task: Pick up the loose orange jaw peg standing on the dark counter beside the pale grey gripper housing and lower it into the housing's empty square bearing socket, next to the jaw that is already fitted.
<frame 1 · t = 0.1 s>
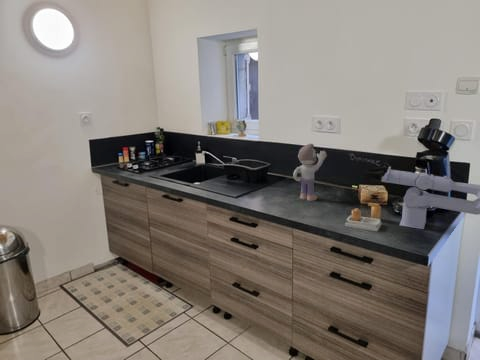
hand: (367, 172, 162), 22 cm above the worktop, tool horizontal, fingers open, 7 cm apart
housing: (363, 225, 159), on the worktop
jaw peg: (375, 219, 165), on the worktop
toy: (311, 199, 197), on the worktop
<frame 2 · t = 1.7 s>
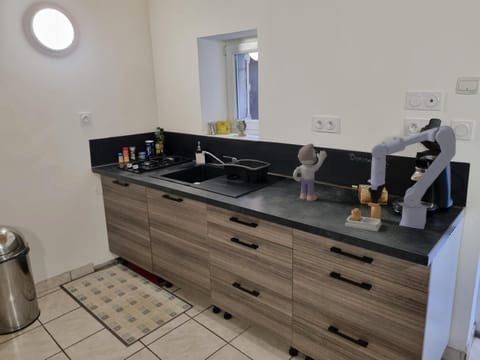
hand: (376, 200, 163), 9 cm above the worktop, tool pointing down, fingers open, 7 cm apart
nothing on the worktop moved.
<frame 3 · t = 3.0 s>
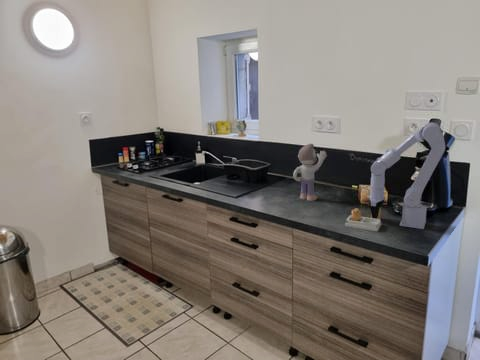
hand: (375, 216, 165), 2 cm above the worktop, tool pointing down, fingers closed on jaw peg, 4 cm apart
jaw peg: (375, 219, 165), on the worktop, touching gripper
everything else where it was.
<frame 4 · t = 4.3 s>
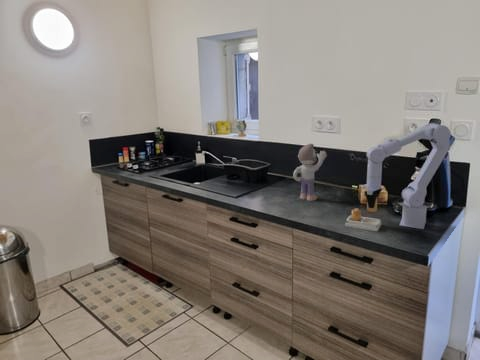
hand: (372, 206, 157), 9 cm above the worktop, tool pointing down, fingers closed on jaw peg, 4 cm apart
jaw peg: (371, 210, 158), point 7 cm above the worktop, touching gripper
everything else where it was.
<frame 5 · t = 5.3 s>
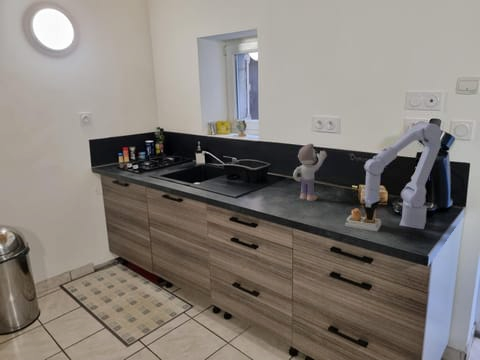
hand: (370, 217, 157), 4 cm above the worktop, tool pointing down, fingers closed on jaw peg, 4 cm apart
jaw peg: (370, 221, 157), point 2 cm above the worktop, touching gripper
everything else where it was.
when the fingers open (4 cm above the worktop, at t = 5.7 s): jaw peg stays where it is, resting on housing.
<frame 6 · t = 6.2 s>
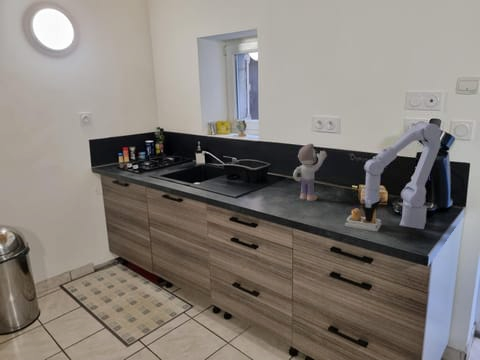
hand: (370, 218, 157), 4 cm above the worktop, tool pointing down, fingers open, 7 cm apart
jaw peg: (370, 223, 158), point 1 cm above the worktop, touching housing
everything else where it was.
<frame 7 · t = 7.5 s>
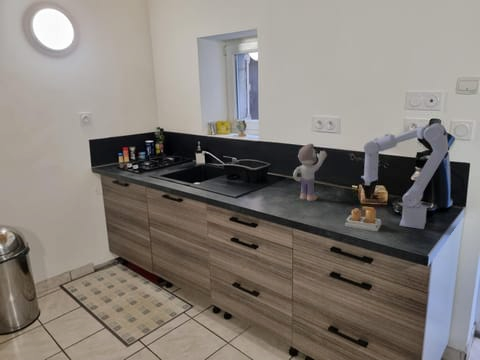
hand: (369, 196, 166), 10 cm above the worktop, tool pointing down, fingers open, 7 cm apart
nothing on the worktop moved.
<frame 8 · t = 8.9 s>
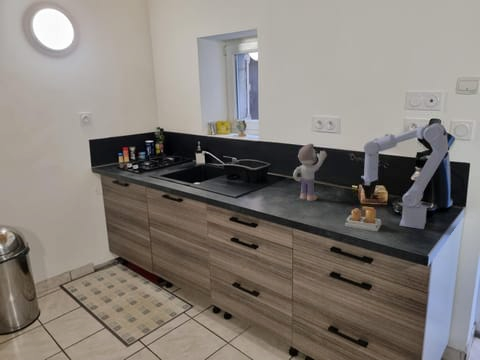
hand: (369, 196, 166), 10 cm above the worktop, tool pointing down, fingers open, 7 cm apart
nothing on the worktop moved.
at the end: jaw peg 0.1 cm from the target spot on the housing, point 1.2 cm above the housing's base; jaw peg tilted 1°; the gripper is holding nothing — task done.
